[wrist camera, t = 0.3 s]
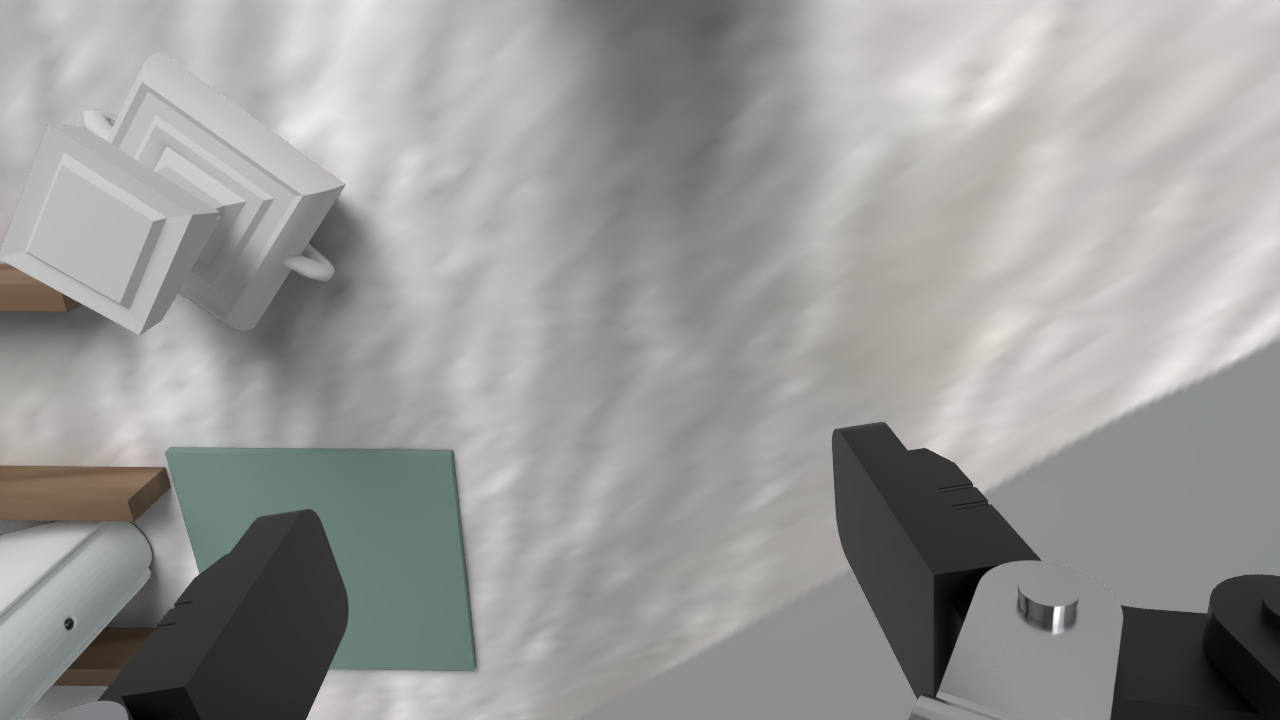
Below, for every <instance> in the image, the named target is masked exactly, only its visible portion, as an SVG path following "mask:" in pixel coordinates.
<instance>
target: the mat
mask: <svg viewBox="0 0 1280 720" xmlns="http://www.w3.org/2000/svg"><path fill="white" fill-rule="evenodd" d="M165 454H166V458H167V461H168V465H169V468H170V472H171V475H172V479H173V482H174V486H175V489H176V493H177V496H178V500H179V503H180V507H181V510H182V514H183V517H184V521H185V524H186V528H187V531H188V535H189V538H190V542H191V545H192V549H193V552H194V556H195V559H196V563H197V566H198V570H199V573H200V574H201V573H202V572H203V571H205V570H206V569H207V568H208V567H210V566H211V565H212V564H214V563H215V562H216V561H217V560H219V559H220V558H221V557H223V556H224V555H225V554H229V553H230V552H231V550H232V549H233V548H234V547H235V545H236V544H237V543H238V541H239V540H240V539H241V537H242V536H243V535H244V533H245V532H246V531H247V529H248V528H249V527H250V525H251V524H252V523H253V522H254V521H255V519H257V518H258V517H260V516H266V515H272V514H279V513H285V512H292V511H298V510H305V509H311V510H313V511H314V512H316V514H317V515H318V516H319V518H320V520H321V522H322V525H323V527H324V530H325V533H326V536H327V538H328V541H329V544H330V547H331V550H332V552H333V555H334V558H335V561H336V563H337V566H338V569H339V572H340V574H341V577H342V580H343V583H344V585H345V588H346V592H347V596H348V605H349V615H348V623H347V628H346V631H345V634H344V636H343V638H342V640H341V643H340V645H339V647H338V649H337V652H336V654H335V656H334V658H333V660H332V663H331V665H330V667H329V669H361V670H439V671H474V670H475V666H476V660H475V651H474V641H473V632H472V623H471V614H470V605H469V596H468V586H467V577H466V568H465V559H464V550H463V540H462V531H461V522H460V513H459V504H458V495H457V485H456V476H455V467H454V458H453V450H380V449H282V448H184V447H170V448H169V449H168V450H167V451H166V452H165Z"/></svg>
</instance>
